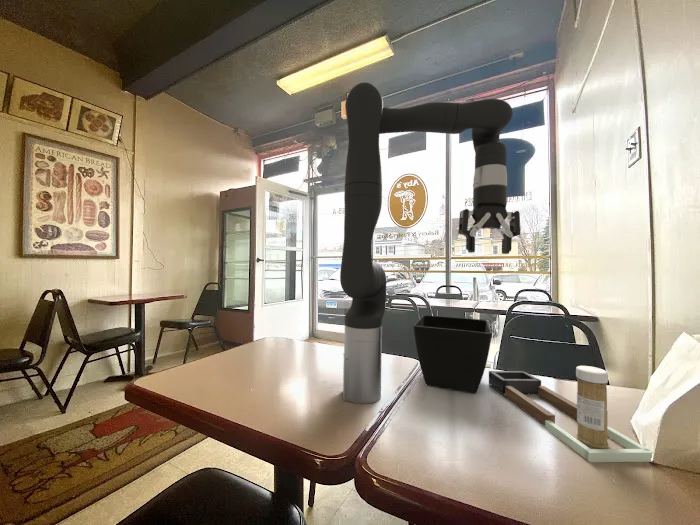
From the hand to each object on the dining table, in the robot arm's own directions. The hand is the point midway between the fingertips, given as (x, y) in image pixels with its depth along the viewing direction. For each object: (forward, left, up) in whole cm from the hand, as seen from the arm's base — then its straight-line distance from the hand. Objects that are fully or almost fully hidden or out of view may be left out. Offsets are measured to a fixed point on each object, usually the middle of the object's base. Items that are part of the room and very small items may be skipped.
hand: (488, 253), depth 72 cm
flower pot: (-4, +11, -36) cm, 38 cm away
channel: (+11, -5, -36) cm, 38 cm away
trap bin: (+11, +7, -36) cm, 38 cm away
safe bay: (+11, -18, -36) cm, 41 cm away
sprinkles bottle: (+11, -18, -36) cm, 41 cm away
